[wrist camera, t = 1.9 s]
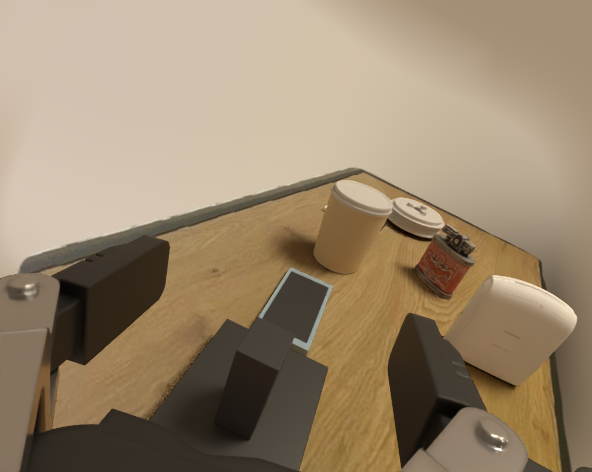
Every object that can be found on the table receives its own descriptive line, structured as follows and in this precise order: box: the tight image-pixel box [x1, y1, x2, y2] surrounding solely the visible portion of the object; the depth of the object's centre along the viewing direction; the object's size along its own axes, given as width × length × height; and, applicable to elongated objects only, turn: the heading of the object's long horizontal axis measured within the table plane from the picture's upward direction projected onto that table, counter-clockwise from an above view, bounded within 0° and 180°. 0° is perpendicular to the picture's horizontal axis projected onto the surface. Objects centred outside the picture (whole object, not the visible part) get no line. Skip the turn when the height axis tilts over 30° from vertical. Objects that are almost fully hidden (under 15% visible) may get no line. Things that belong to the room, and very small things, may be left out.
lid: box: [388, 198, 444, 238], centre depth 76 cm, size 13×13×5 cm
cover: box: [149, 317, 328, 471], centre depth 25 cm, size 16×11×11 cm
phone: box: [259, 267, 333, 356], centre depth 42 cm, size 13×6×1 cm, turn 163°
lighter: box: [414, 224, 476, 299], centre depth 56 cm, size 8×3×10 cm, turn 25°
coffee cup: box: [313, 180, 392, 274], centre depth 52 cm, size 9×9×12 cm
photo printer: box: [443, 275, 577, 386], centre depth 41 cm, size 10×4×12 cm, turn 68°
